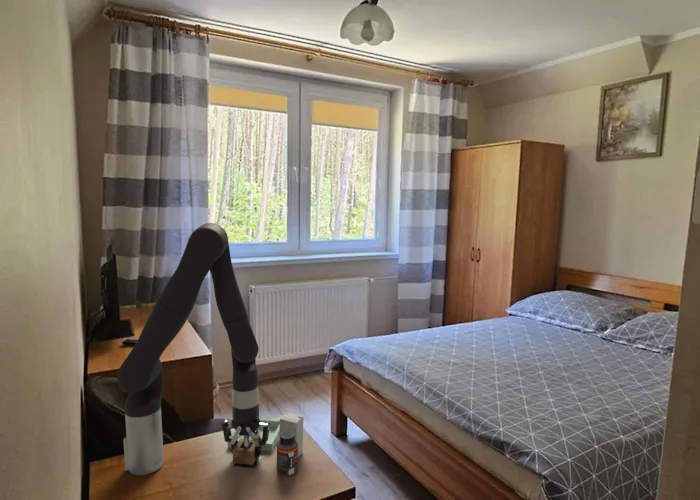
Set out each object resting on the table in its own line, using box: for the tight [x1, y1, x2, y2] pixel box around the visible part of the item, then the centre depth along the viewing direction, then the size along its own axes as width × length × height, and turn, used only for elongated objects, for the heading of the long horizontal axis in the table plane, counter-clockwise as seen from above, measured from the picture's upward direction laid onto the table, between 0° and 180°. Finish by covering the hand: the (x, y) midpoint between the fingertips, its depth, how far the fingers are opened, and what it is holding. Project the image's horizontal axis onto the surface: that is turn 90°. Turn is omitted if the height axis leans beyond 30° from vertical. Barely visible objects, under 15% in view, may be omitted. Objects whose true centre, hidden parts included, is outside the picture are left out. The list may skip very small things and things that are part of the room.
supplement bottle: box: [276, 431, 299, 478], centre depth 126 cm, size 6×6×11 cm
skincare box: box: [278, 412, 304, 458], centre depth 134 cm, size 6×4×12 cm
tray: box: [227, 417, 280, 453], centre depth 143 cm, size 14×14×3 cm
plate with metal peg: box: [231, 435, 263, 469], centre depth 131 cm, size 7×7×8 cm
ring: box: [232, 439, 257, 465], centre depth 132 cm, size 6×7×4 cm
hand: (246, 455), depth 132 cm, fingers closed on ring, 6 cm apart
